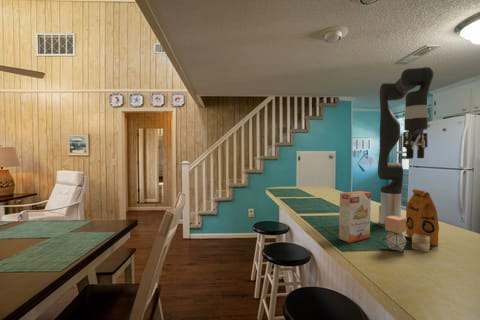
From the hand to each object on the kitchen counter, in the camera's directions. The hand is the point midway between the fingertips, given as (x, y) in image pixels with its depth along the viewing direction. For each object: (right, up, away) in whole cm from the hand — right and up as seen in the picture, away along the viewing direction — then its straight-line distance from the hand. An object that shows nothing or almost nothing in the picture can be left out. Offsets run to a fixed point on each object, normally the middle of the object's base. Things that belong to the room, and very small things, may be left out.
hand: (415, 158), depth 96 cm
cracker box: (-19, -36, +11) cm, 42 cm away
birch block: (+2, -36, 0) cm, 36 cm away
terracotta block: (-10, -28, -2) cm, 30 cm away
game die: (-10, -36, -2) cm, 38 cm away
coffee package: (+9, -36, +8) cm, 38 cm away
